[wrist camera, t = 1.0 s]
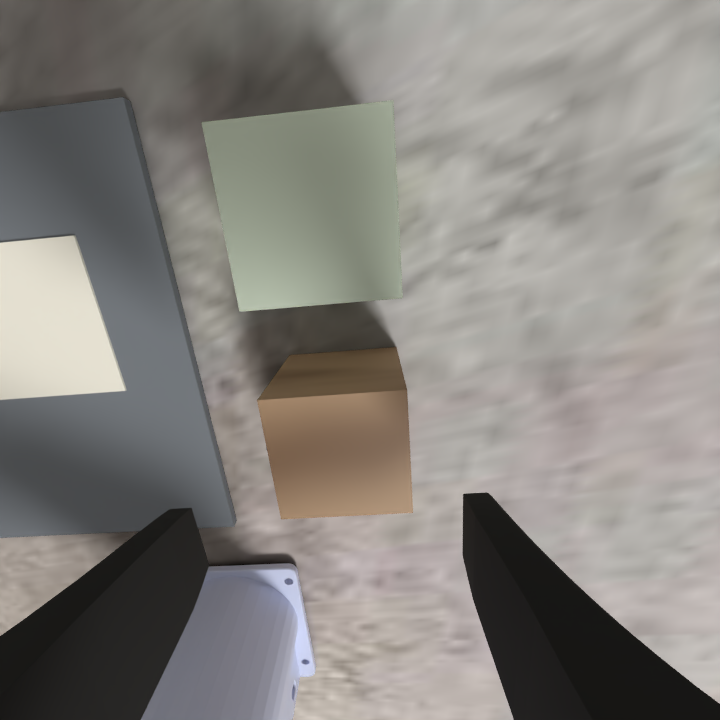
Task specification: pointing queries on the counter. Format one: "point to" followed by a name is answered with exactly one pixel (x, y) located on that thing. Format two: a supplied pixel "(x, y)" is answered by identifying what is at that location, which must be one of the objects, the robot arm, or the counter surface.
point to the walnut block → (339, 434)
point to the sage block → (309, 205)
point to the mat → (94, 337)
